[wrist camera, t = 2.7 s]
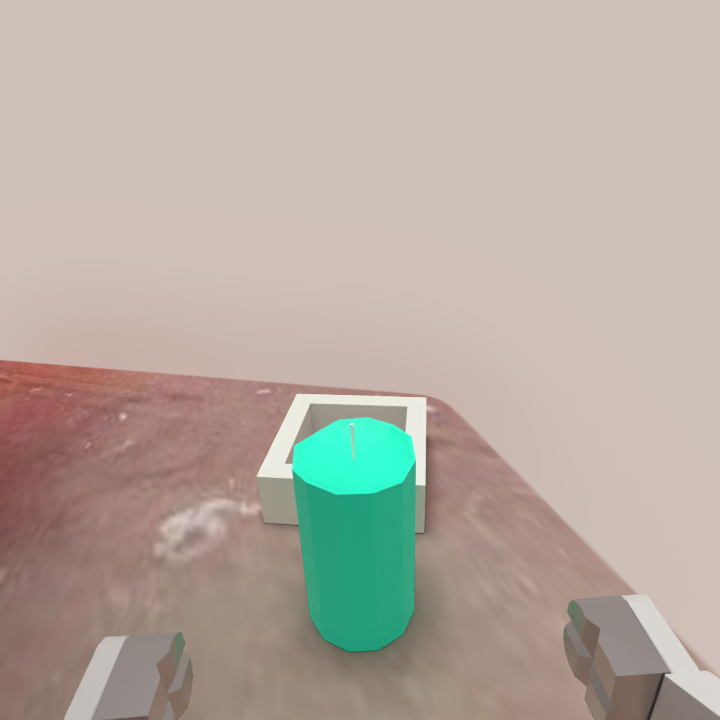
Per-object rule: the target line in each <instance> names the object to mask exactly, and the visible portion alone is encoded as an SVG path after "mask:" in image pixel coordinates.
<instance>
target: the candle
mask: <svg viewBox="0 0 720 720" xmlns="http://www.w3.org/2000/svg"><path fill="white" fill-rule="evenodd" d="M292 474H293V483H294V491H295V499H296V507H297V515H298V523H299V531H300V539H301V547H302V555H303V563H304V571H305V579H306V588H307V596H308V604H309V612H310V618H311V619H312V621H313V623H314V624H315V626H316V628H317V630H318V631H319V633H320V635H321V636H322V638H323V639H324V640H326V641H328V642H330V643H332V644H334V645H336V646H338V647H340V648H342V649H344V650H346V651H348V652H358V651H376V650H380V649H382V648H383V647H385V646H386V645H388V644H389V643H391V642H392V641H394V640H396V639H397V638H399V637H400V636H402V635H403V634H404V632H405V629H406V627H407V625H408V623H409V621H410V619H411V617H412V615H413V613H414V583H415V501H416V457H415V451H414V446H413V440H412V436H411V435H409V434H408V433H406V432H404V431H403V430H401V429H399V428H398V427H396V426H395V425H392V424H389V423H386V422H382V421H379V420H375V419H372V418H368V417H363V418H353V419H342V420H337V421H335V422H333V423H332V424H330V425H328V426H327V427H325V428H323V429H321V430H320V431H318V432H316V433H315V434H313V435H311V436H309V437H308V438H306V439H304V440H303V441H301V442H299V443H298V444H296V445H294V454H293V464H292Z"/></svg>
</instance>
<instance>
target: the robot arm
mask: <svg viewBox="0 0 720 720" xmlns="http://www.w3.org/2000/svg"><path fill="white" fill-rule="evenodd" d="M567 612H568V614H569V616H570V618H571V621H570V622H569V623H568V624H567V625H566V626H565V628H564V636H563V639H564V646H565V652H566V656H567V659H568V662H569V665H570V667H571V669H572V672H573V674H574V676H575V677H576V678H577V679H578V680H580V681H581V682H582V683H583V684H584V685H586V686H587V690H586V695H585V701H586V703H587V705H588V708H589V710H590V712H591V714H592V717H593V719H594V720H720V679H719V678H718V677H716V676H715V675H713V674H712V673H710V672H709V671H700V670H699V668H698V667H697V666H696V664H695V663H694V661H693V660H692V658H691V657H690V655H689V654H688V653H687V651H686V650H685V648H684V647H683V645H682V644H681V643H680V641H679V640H678V638H677V637H676V635H675V634H674V632H673V631H672V630H671V628H670V627H669V625H668V624H667V622H666V621H665V619H664V618H663V617H662V615H661V614H660V612H659V611H658V609H657V608H656V606H654V604H653V602H652V601H651V599H650V598H649V597H647V596H646V595H645V594H636V595H626V596H607V597H596V598H586V599H576V600H572V601H571V602H570V603H569V606H568V611H567ZM184 645H185V641H184V639H183V636H182V633H181V632H178V633H162V634H145V635H126V636H113V637H105V638H104V639H103V640H102V641H101V643H100V644H99V645H98V646H97V648H96V650H95V652H94V655H93V657H92V659H91V661H90V663H89V665H88V667H87V669H86V672H85V674H84V676H83V678H82V680H81V682H80V684H79V687H78V689H77V691H76V693H75V695H74V697H73V699H72V702H71V704H70V706H69V708H68V710H67V712H66V714H65V716H64V719H63V720H178V719H179V718H180V716H181V715H182V714H183V713H184V712H185V711H186V709H187V708H188V703H189V699H190V695H191V688H192V678H193V674H192V664H191V660H190V657H189V656H187V655H186V654H184V653H183V648H184Z"/></svg>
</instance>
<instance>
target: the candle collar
mask: <svg viewBox="0 0 720 720" xmlns="http://www.w3.org/2000/svg"><path fill="white" fill-rule="evenodd" d="M363 417H368V418H372V419H375V420H379V421H382V422H386V423H389V424H392V425H395V426H396V427H398V428H399V429H401V430H403V431H404V432H406V433H408V434H409V435H411V436H412V440H413V446H414V451H415V457H416V501H415V533H424V526H425V481H426V398H421V397H387V396H352V395H318V394H297V395H296V397H295V399H294V401H293V403H292V405H291V407H290V409H289V411H288V413H287V415H286V417H285V420H284V422H283V424H282V426H281V428H280V430H279V432H278V434H277V436H276V438H275V440H274V442H273V444H272V446H271V448H270V450H269V452H268V454H267V456H266V458H265V460H264V462H263V464H262V466H261V468H260V471H259V473H258V475H257V483H258V489H259V495H260V501H261V507H262V513H263V519H264V523H275V524H290V525H299V523H298V515H297V507H296V499H295V491H294V483H293V474H292V464H293V454H294V445H296V444H298V443H299V442H301V441H303V440H304V439H306V438H308V437H309V436H311V435H313V434H315V433H316V432H318V431H320V430H321V429H323V428H325V427H327V426H328V425H330V424H332V423H333V422H335V421H337V420H342V419H353V418H363Z"/></svg>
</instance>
